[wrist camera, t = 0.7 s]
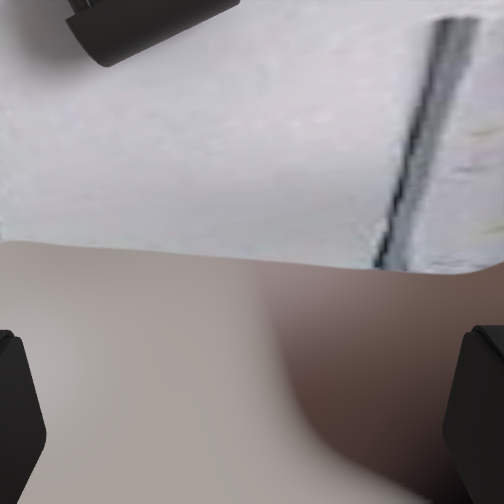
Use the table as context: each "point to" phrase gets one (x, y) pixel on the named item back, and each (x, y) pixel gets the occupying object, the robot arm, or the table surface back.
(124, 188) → the table surface
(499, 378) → the robot arm
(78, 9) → the end cap
